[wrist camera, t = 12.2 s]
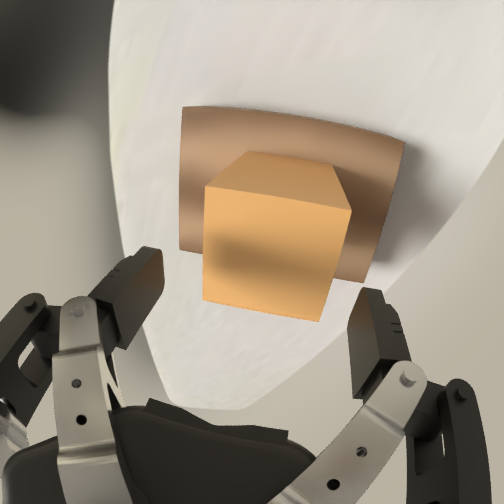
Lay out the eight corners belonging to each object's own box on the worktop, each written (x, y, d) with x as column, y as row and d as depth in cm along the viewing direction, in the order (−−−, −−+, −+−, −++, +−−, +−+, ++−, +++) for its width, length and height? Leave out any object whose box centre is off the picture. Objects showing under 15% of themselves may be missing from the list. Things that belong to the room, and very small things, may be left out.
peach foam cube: (247, 151, 19) (205, 186, 11) (331, 164, 19) (351, 210, 11) (236, 259, 24) (203, 338, 16) (308, 272, 23) (305, 358, 15)
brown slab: (201, 105, 22) (139, 111, 13) (389, 136, 20) (440, 158, 11) (195, 230, 28) (148, 290, 19) (357, 259, 26) (374, 333, 18)
